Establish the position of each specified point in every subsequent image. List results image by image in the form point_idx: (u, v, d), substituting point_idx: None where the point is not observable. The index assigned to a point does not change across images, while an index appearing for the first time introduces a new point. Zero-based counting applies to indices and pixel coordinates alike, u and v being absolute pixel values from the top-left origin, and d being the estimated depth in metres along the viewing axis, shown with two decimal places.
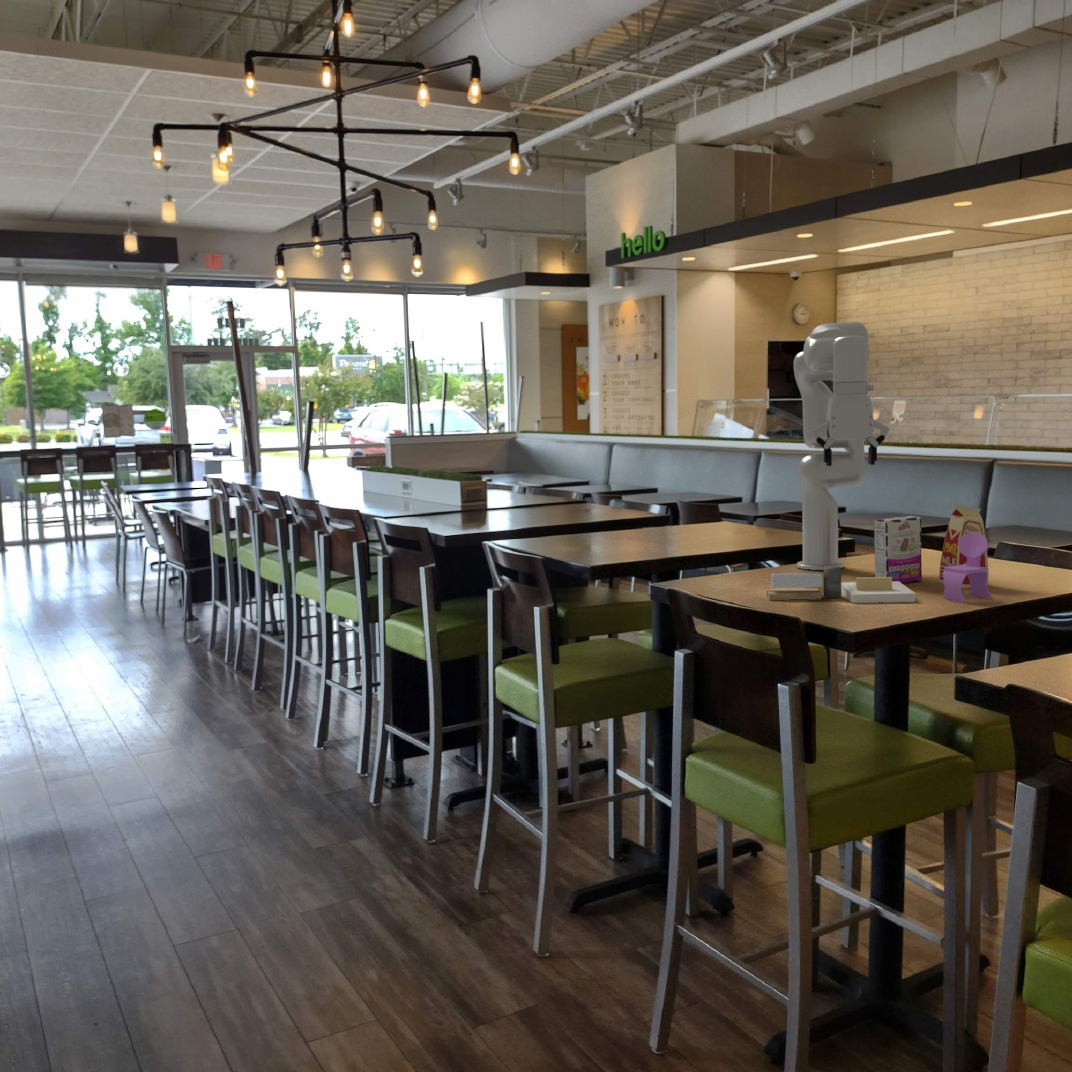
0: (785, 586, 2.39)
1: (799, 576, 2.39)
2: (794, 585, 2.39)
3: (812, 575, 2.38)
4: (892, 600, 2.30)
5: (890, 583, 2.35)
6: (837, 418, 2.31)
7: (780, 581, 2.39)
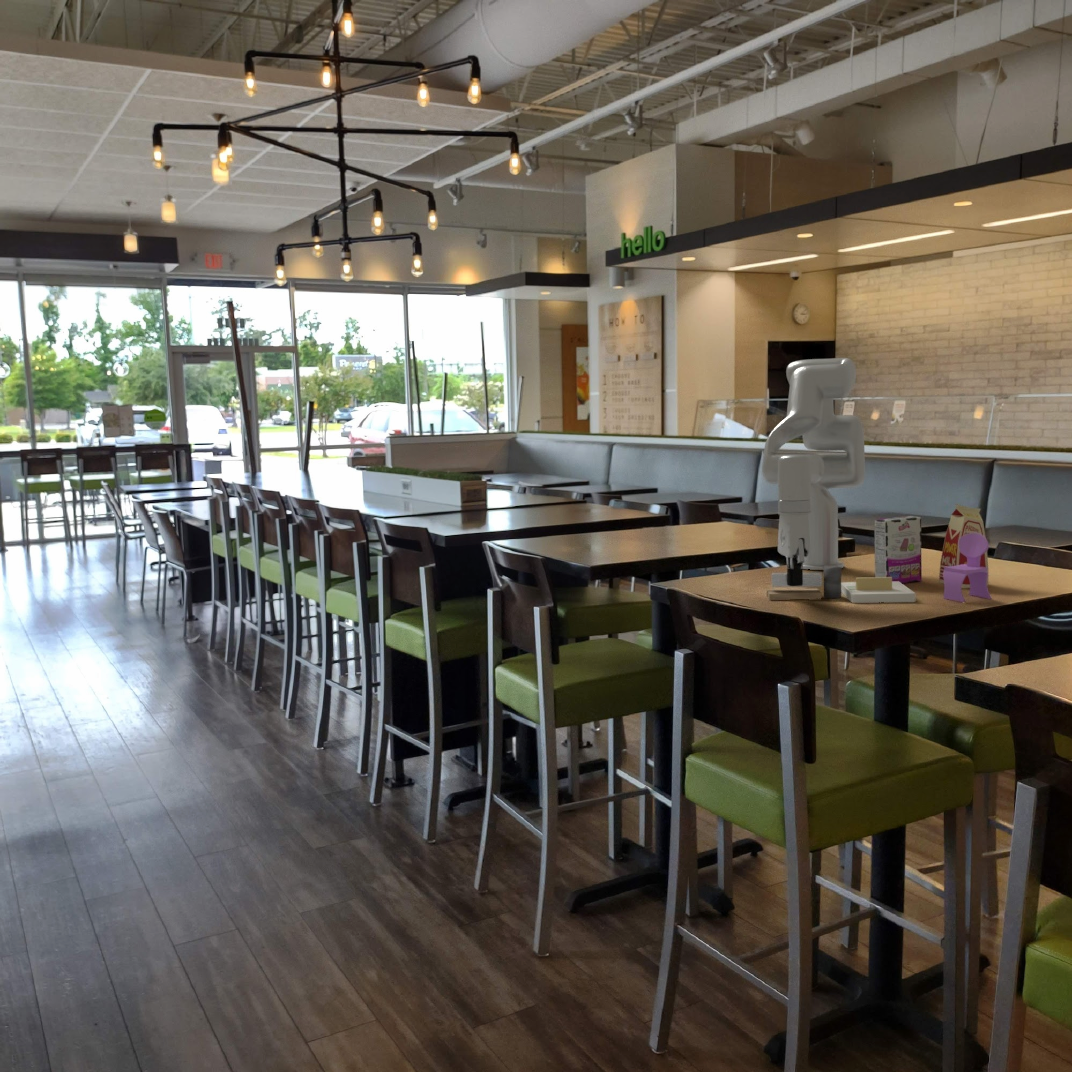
0: (784, 585, 2.40)
1: None
2: None
3: (811, 575, 2.39)
4: (892, 600, 2.30)
5: (890, 583, 2.35)
6: None
7: (779, 580, 2.40)
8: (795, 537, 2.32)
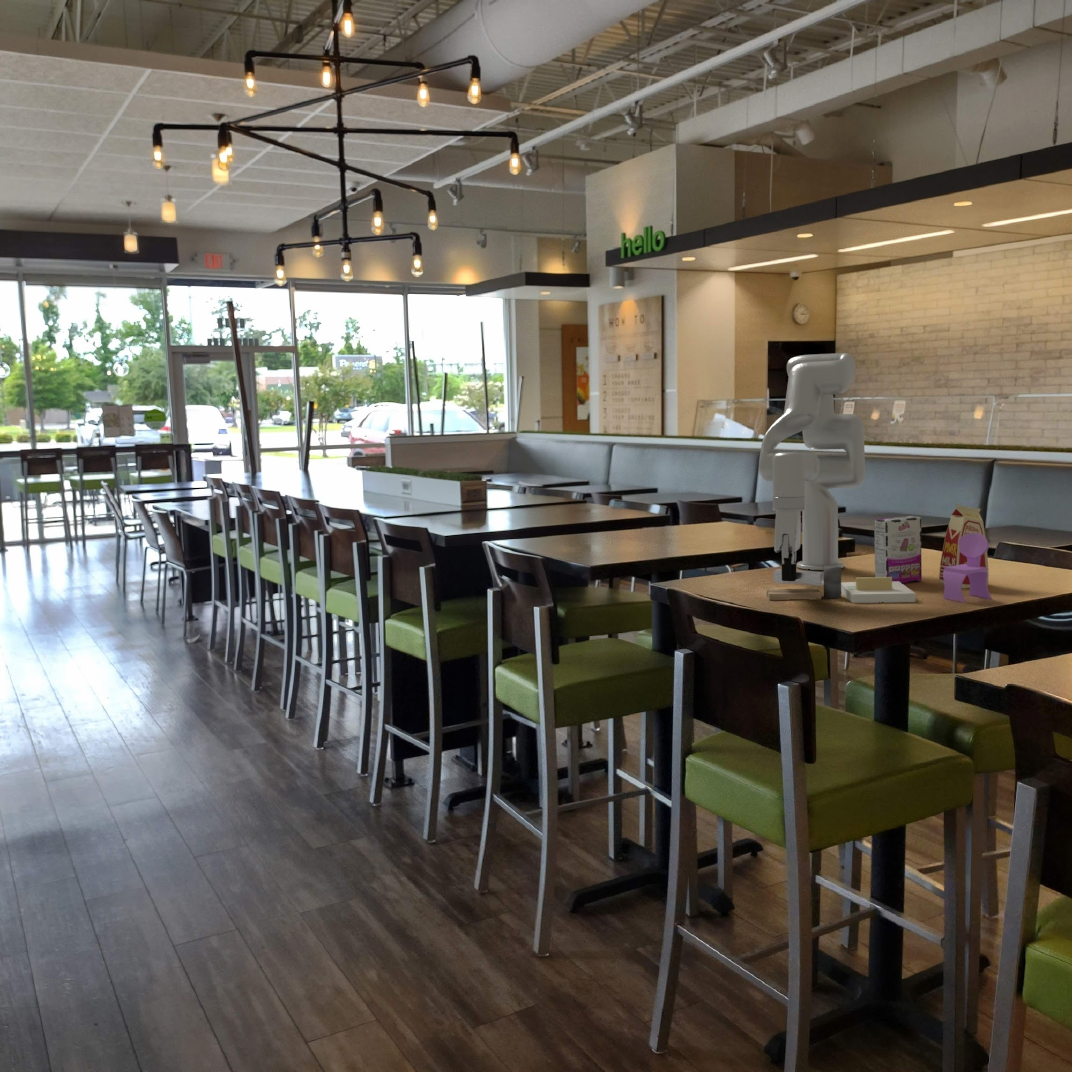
0: (785, 582, 2.45)
1: (798, 573, 2.42)
2: (794, 582, 2.43)
3: (811, 573, 2.41)
4: (892, 600, 2.30)
5: (890, 583, 2.35)
6: (796, 531, 2.37)
7: (781, 577, 2.45)
8: (779, 533, 2.37)
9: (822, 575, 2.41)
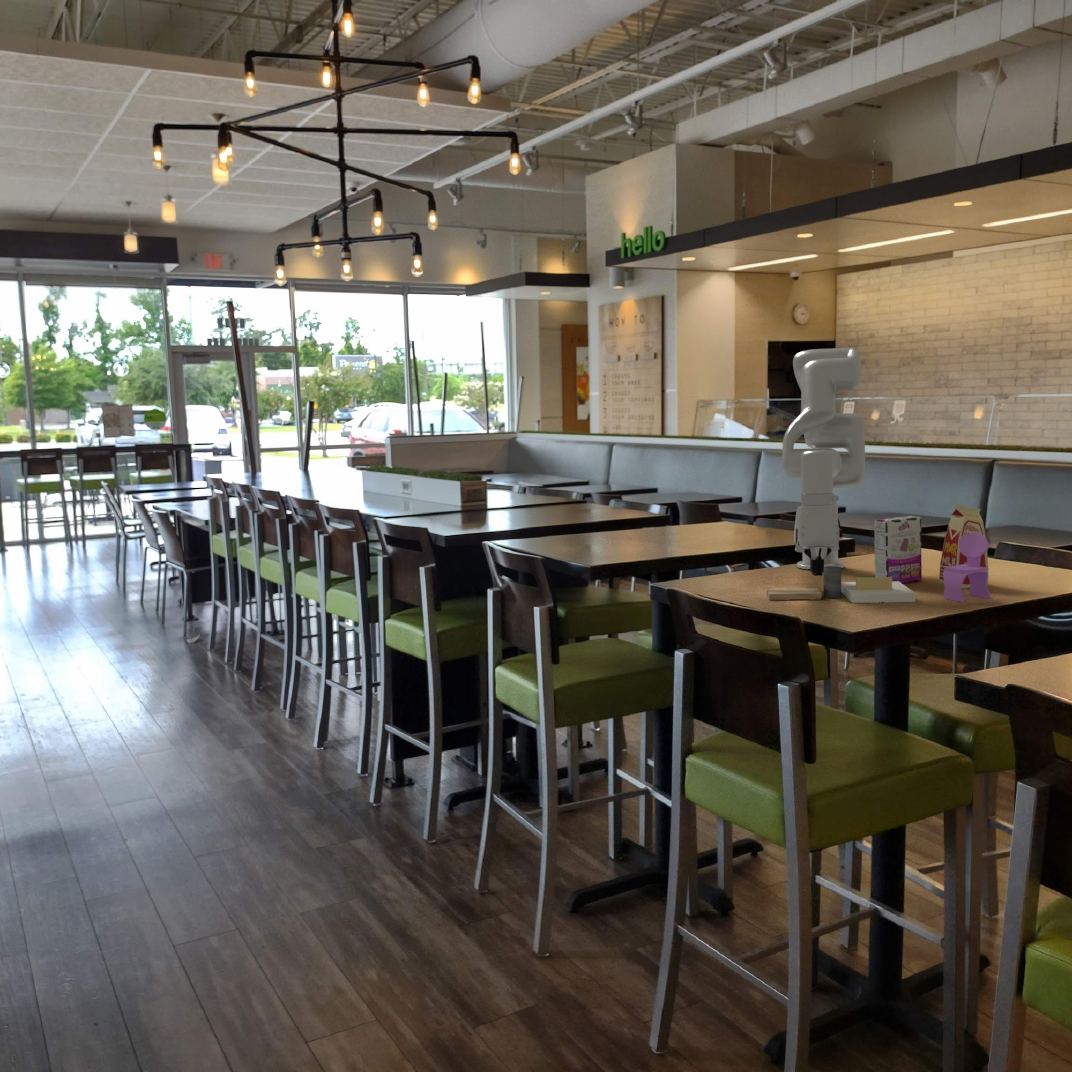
0: None
1: None
2: None
3: None
4: (892, 600, 2.30)
5: (890, 583, 2.35)
6: (806, 527, 2.45)
7: None
8: (795, 527, 2.49)
9: None
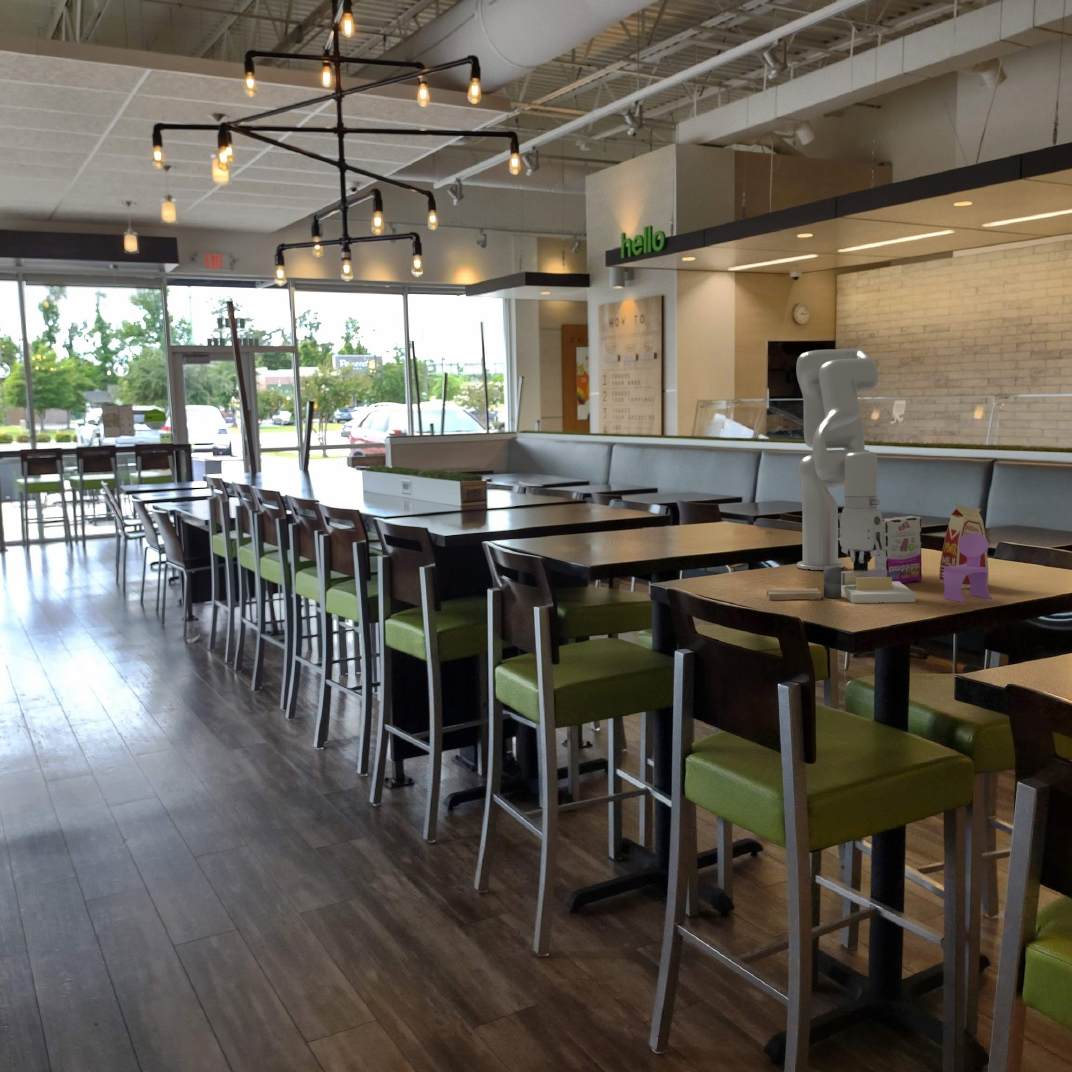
0: None
1: None
2: None
3: None
4: (892, 600, 2.30)
5: (890, 583, 2.35)
6: (843, 528, 2.45)
7: None
8: None
9: (842, 575, 2.39)
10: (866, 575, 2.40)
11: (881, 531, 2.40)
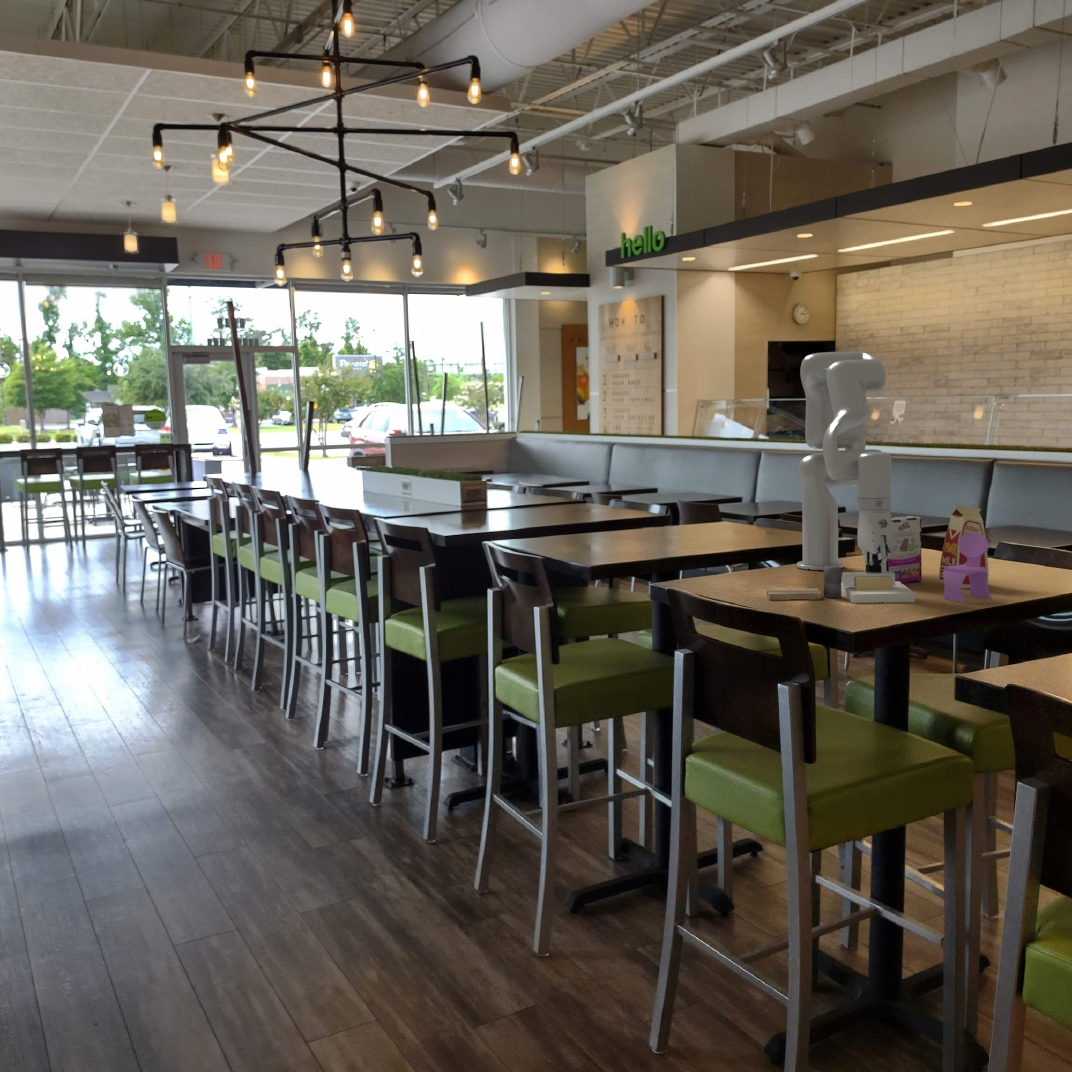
0: None
1: None
2: None
3: None
4: (892, 600, 2.30)
5: (890, 583, 2.35)
6: (858, 529, 2.42)
7: None
8: None
9: (843, 576, 2.38)
10: None
11: (888, 534, 2.35)
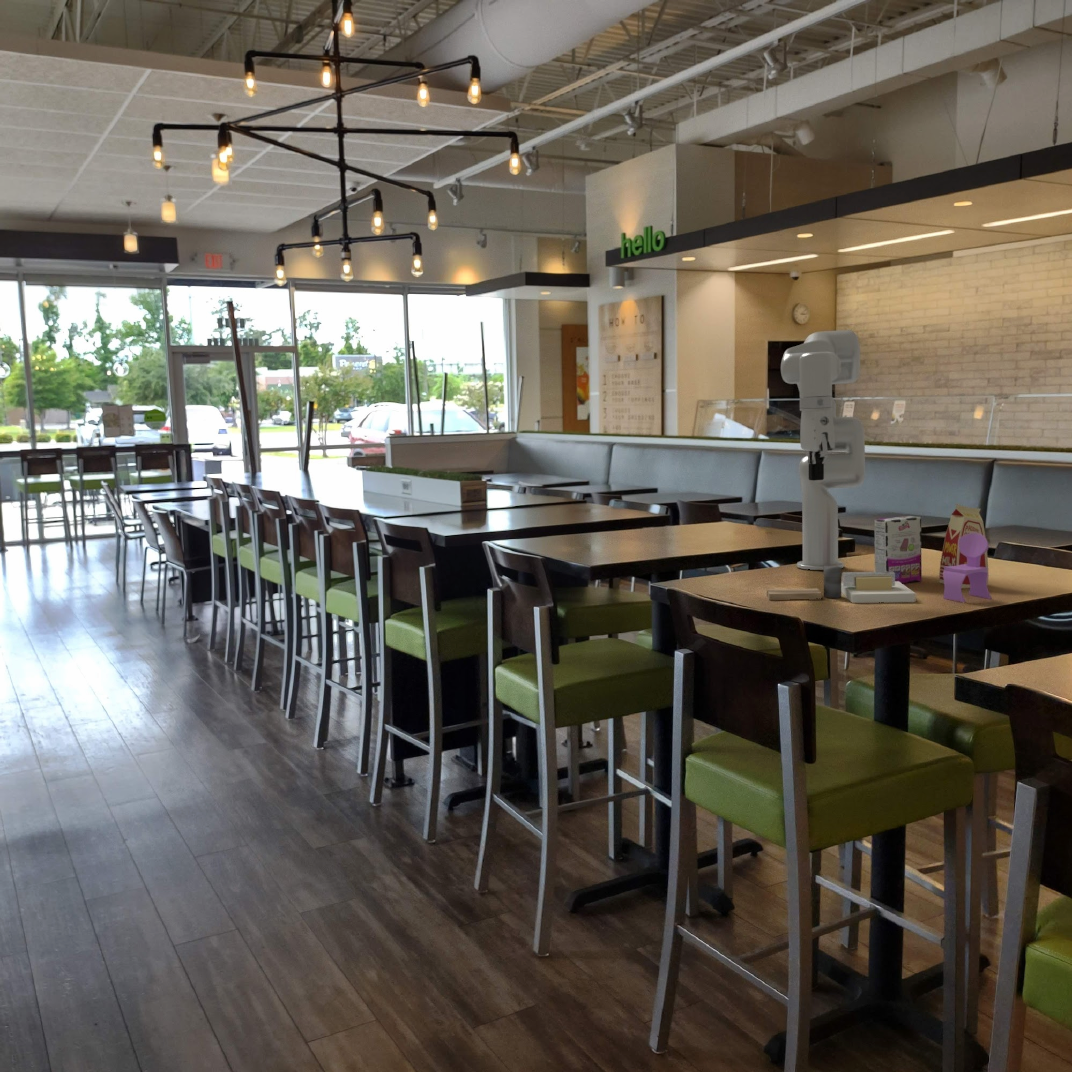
0: None
1: None
2: None
3: None
4: (892, 600, 2.30)
5: (890, 583, 2.35)
6: (801, 430, 2.48)
7: None
8: None
9: (843, 576, 2.38)
10: None
11: (830, 432, 2.40)
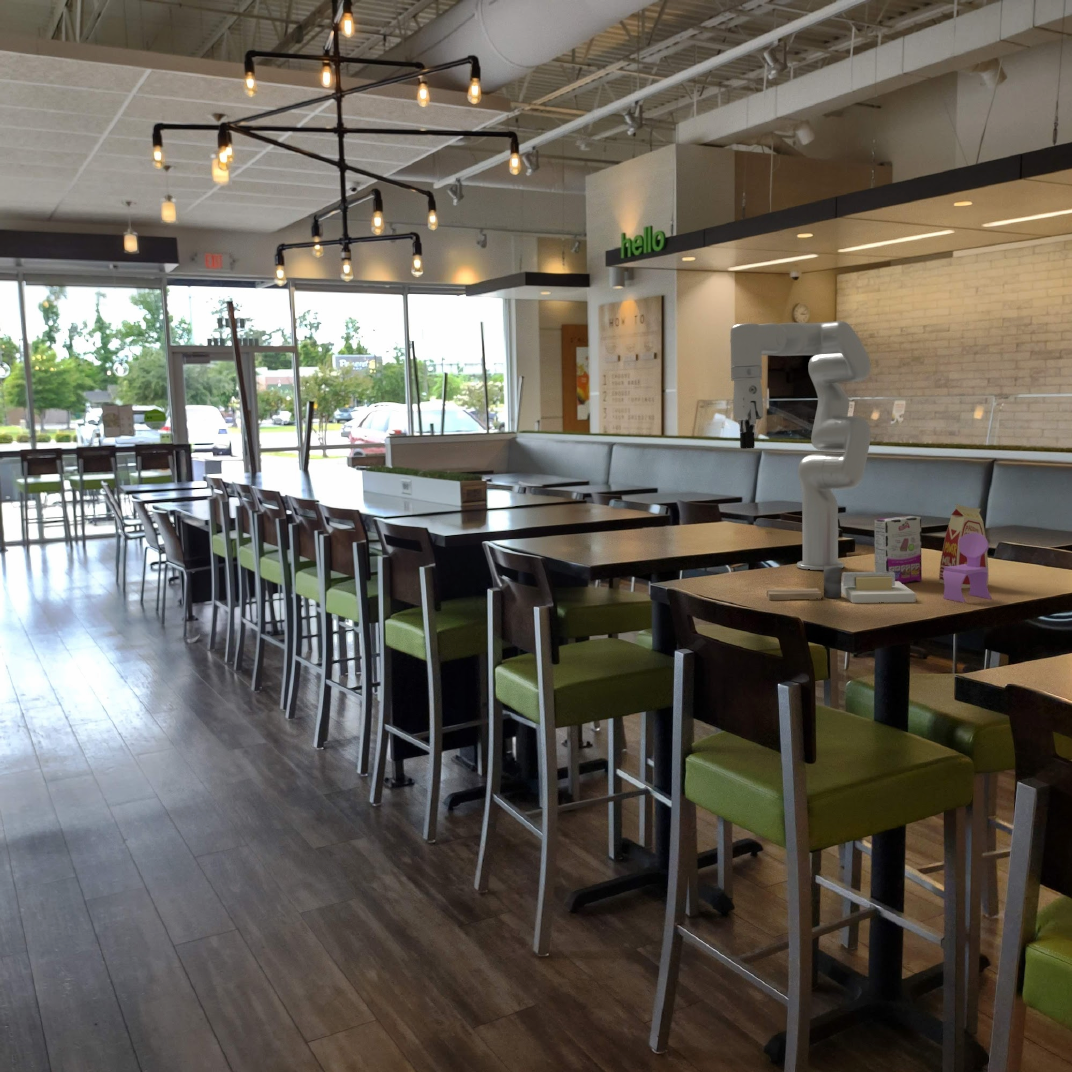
0: None
1: None
2: None
3: None
4: (892, 600, 2.30)
5: (890, 583, 2.35)
6: (733, 400, 2.55)
7: None
8: None
9: (843, 576, 2.38)
10: None
11: (758, 400, 2.47)
